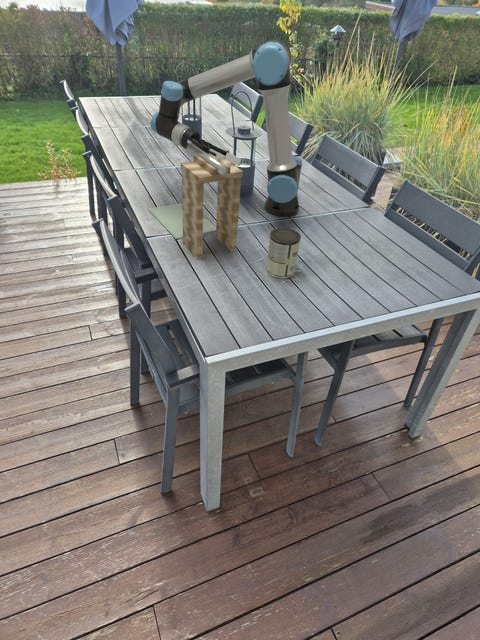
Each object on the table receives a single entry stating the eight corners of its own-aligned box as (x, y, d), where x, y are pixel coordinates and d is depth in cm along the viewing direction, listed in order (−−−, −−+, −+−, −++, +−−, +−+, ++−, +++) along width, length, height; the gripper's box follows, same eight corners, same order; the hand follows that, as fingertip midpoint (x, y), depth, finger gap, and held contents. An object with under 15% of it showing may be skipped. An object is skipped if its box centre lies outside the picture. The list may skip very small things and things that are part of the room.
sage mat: (148, 210, 184) (148, 208, 184) (187, 203, 192) (187, 202, 192) (176, 239, 166) (176, 238, 166) (217, 231, 174) (217, 229, 173)
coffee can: (269, 260, 159) (273, 225, 150) (297, 266, 157) (303, 230, 148) (262, 275, 151) (266, 238, 142) (291, 281, 149) (298, 244, 140)
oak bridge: (181, 242, 164) (180, 156, 144) (219, 234, 171) (222, 151, 151) (198, 260, 155) (199, 171, 135) (237, 251, 162) (243, 165, 142)
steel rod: (186, 152, 154) (186, 143, 153) (194, 151, 156) (194, 142, 154) (219, 176, 139) (219, 166, 137) (227, 174, 140) (228, 165, 138)
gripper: (199, 150, 177) (242, 173, 172) (164, 143, 156) (211, 169, 150) (206, 132, 174) (250, 154, 169) (171, 122, 153) (219, 147, 147)
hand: (232, 161), depth 159 cm, fingers open, 12 cm apart
